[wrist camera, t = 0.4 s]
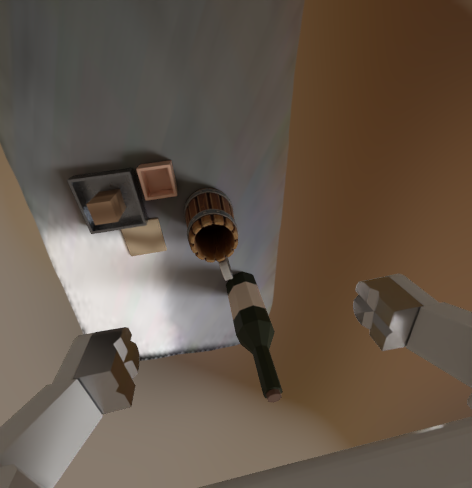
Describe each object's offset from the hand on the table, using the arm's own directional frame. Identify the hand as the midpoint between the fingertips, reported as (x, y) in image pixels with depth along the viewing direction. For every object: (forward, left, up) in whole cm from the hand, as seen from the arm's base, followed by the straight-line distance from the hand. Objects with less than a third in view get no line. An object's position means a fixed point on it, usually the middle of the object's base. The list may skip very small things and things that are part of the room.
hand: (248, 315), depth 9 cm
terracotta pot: (+6, -9, -45) cm, 47 cm away
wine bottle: (+37, +5, -46) cm, 59 cm away
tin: (+9, -19, -45) cm, 50 cm away
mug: (+17, 0, -46) cm, 49 cm away
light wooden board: (+18, -16, -45) cm, 51 cm away
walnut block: (+9, -19, -45) cm, 49 cm away
